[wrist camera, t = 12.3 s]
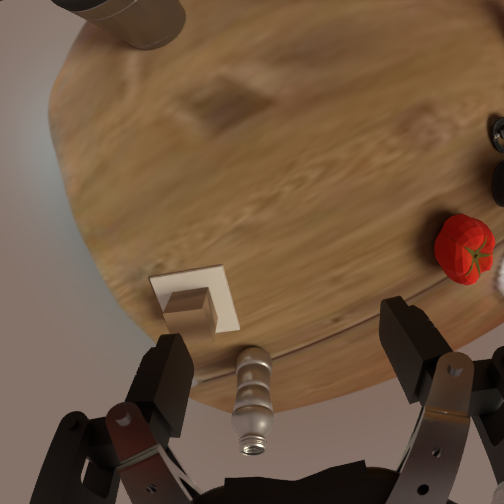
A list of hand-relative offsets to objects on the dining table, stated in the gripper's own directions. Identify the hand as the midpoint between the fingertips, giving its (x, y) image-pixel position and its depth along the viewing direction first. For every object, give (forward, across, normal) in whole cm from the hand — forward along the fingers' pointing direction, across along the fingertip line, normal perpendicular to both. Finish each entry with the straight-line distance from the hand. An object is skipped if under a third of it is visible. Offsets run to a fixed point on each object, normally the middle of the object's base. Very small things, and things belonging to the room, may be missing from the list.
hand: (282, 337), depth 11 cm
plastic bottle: (+30, +7, +29) cm, 42 cm away
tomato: (+30, -31, +13) cm, 45 cm away
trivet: (+30, +14, +16) cm, 37 cm away
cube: (+30, +14, +16) cm, 36 cm away
